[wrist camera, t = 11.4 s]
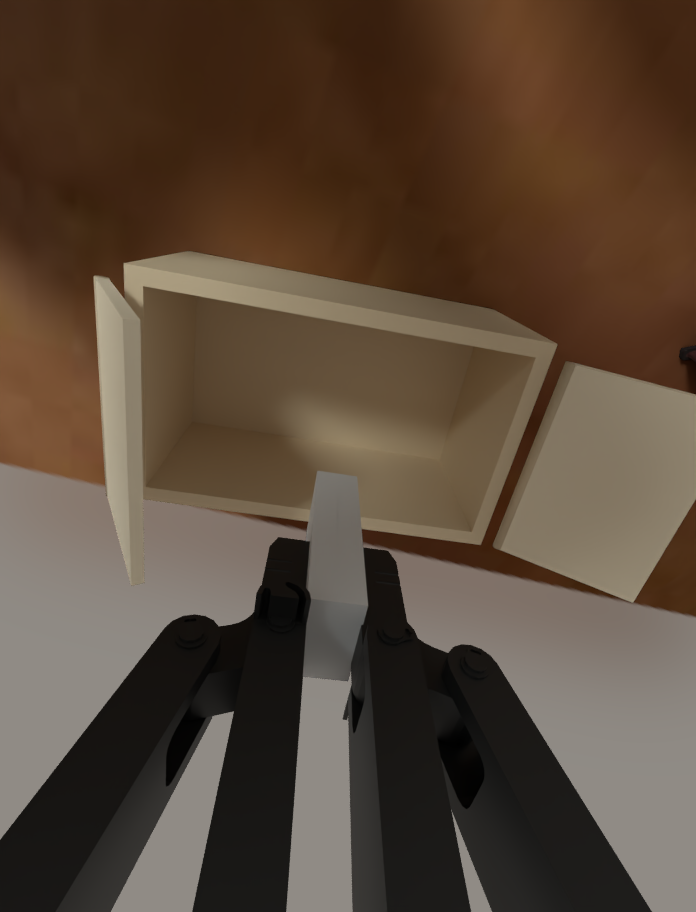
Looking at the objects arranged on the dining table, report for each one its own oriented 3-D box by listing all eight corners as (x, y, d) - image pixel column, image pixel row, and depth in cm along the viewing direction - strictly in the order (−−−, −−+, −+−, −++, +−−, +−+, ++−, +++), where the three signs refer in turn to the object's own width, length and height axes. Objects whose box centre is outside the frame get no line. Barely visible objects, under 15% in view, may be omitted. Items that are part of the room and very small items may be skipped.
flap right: (491, 547, 26) (633, 603, 24) (565, 362, 22) (749, 410, 19) (493, 542, 27) (631, 596, 24) (565, 360, 22) (745, 407, 20)
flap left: (108, 276, 20) (142, 320, 14) (117, 490, 25) (145, 583, 19) (92, 275, 20) (120, 319, 14) (105, 492, 24) (129, 586, 19)
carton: (183, 427, 34) (130, 499, 25) (188, 250, 29) (123, 263, 20) (444, 466, 36) (480, 546, 27) (493, 309, 31) (557, 344, 22)
